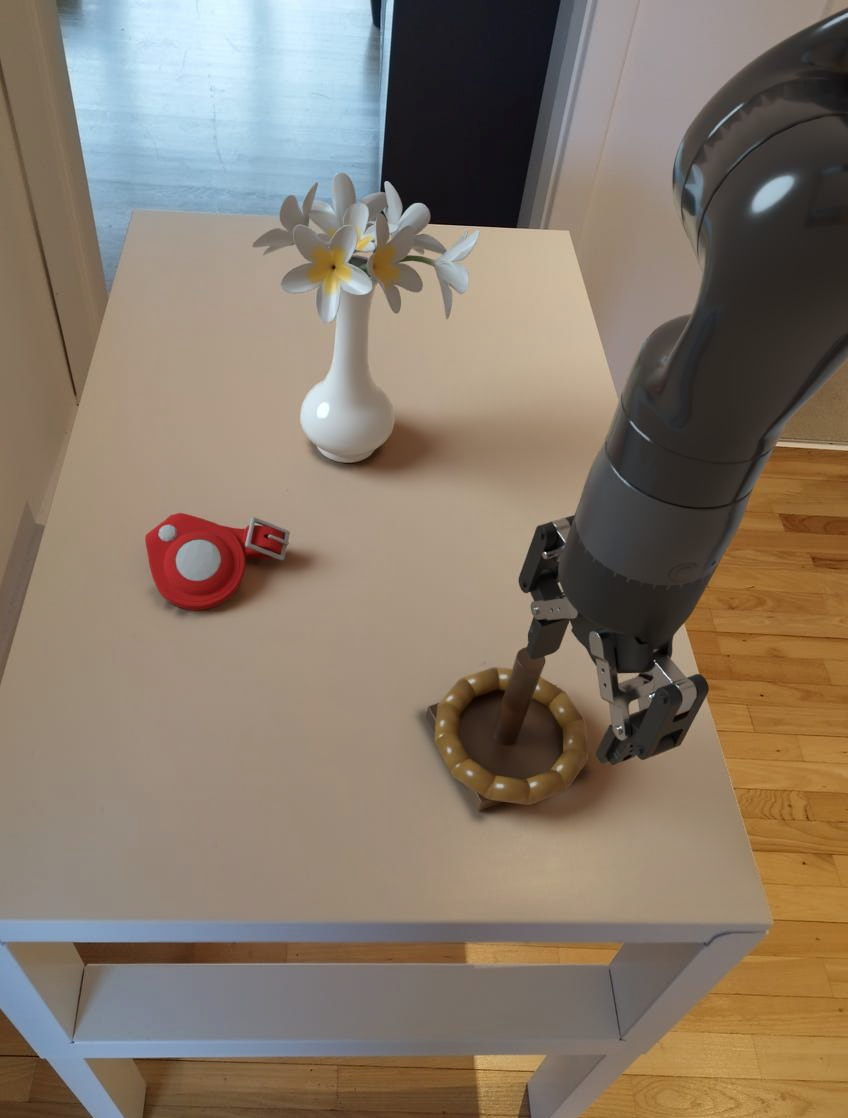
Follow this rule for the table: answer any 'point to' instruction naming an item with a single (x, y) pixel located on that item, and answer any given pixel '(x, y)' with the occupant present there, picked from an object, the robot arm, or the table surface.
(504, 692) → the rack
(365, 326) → the flower vase
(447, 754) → the ring
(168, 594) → the tracker holder
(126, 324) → the table surface
